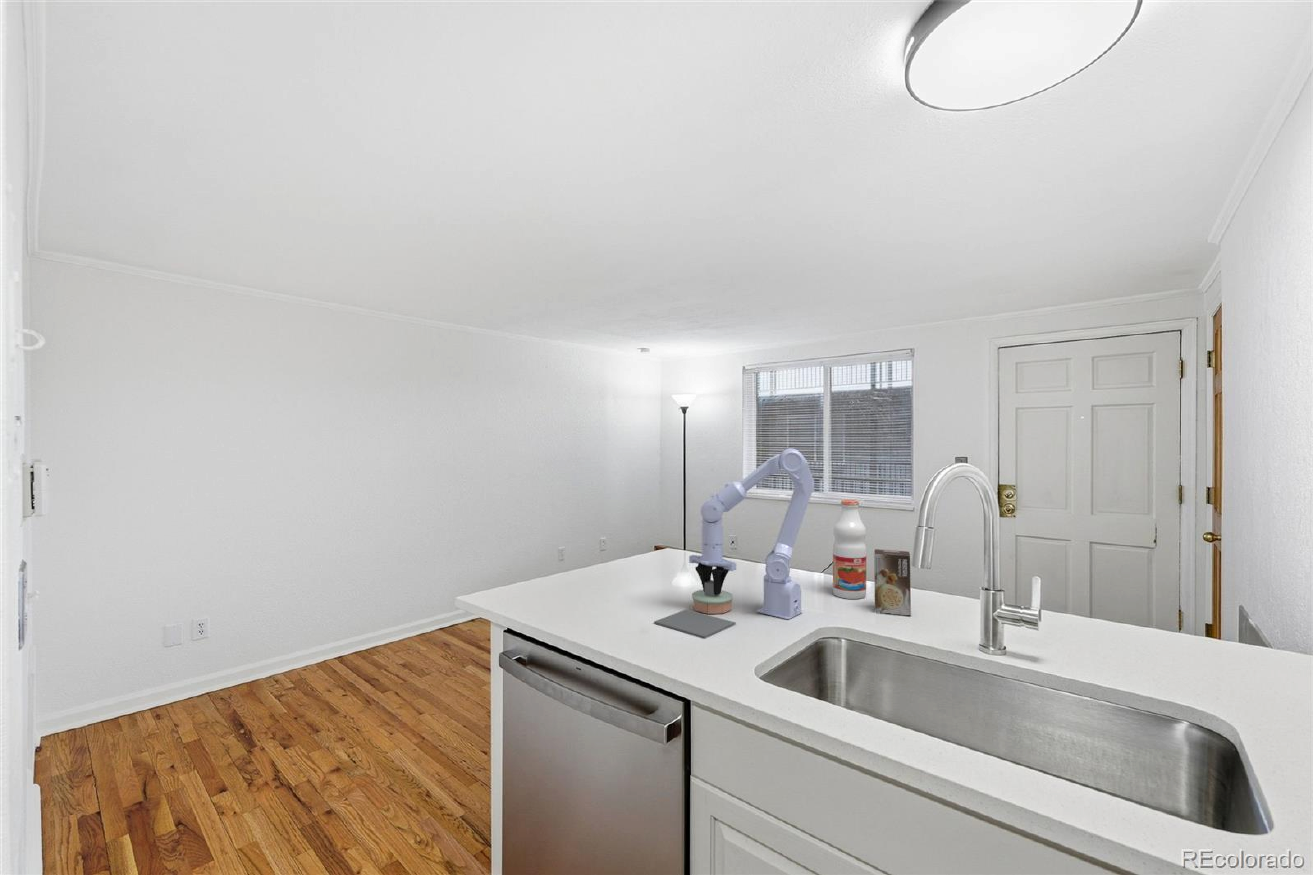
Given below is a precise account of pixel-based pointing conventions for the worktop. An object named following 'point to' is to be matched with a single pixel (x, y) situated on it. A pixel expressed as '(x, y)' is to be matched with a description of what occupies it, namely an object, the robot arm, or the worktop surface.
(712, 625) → the mat
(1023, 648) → the worktop surface
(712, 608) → the bowl
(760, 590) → the worktop surface
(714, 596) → the lid
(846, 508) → the fruit juice
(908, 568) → the coffee box
